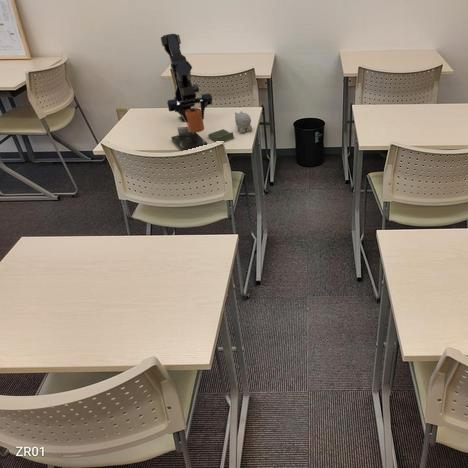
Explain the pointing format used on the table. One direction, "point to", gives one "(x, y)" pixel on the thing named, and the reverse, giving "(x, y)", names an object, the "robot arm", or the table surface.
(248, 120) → the round bodied animal figurine
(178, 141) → the hob
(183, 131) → the grey and red block
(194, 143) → the hob plate
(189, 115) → the pot
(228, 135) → the rack
